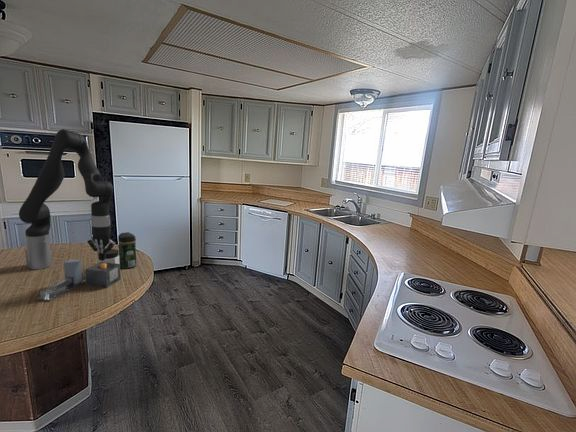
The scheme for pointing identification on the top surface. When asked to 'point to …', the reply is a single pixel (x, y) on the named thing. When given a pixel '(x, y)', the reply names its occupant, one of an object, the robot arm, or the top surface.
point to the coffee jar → (127, 250)
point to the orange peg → (103, 265)
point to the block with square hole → (102, 275)
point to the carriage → (73, 270)
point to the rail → (58, 289)
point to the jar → (111, 257)
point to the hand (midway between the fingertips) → (102, 260)
